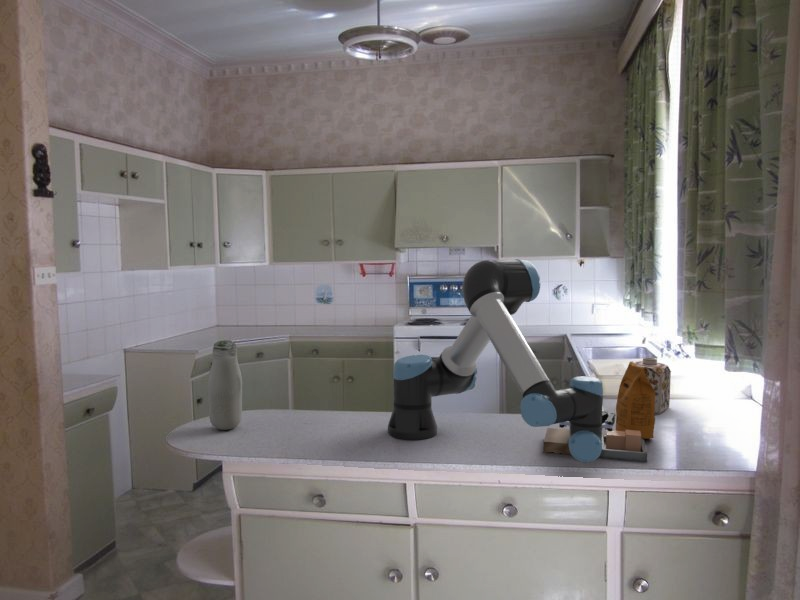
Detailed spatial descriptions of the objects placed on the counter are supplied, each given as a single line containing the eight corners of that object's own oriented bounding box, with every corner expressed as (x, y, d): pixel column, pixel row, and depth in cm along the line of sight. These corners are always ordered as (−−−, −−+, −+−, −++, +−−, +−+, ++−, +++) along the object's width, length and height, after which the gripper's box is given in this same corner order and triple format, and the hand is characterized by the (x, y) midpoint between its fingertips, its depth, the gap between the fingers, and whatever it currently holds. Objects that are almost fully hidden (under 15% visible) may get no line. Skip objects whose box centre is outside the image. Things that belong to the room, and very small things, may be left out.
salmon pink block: (606, 448, 179) (606, 434, 179) (606, 443, 184) (606, 429, 184) (625, 450, 178) (625, 436, 177) (624, 445, 183) (624, 431, 182)
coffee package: (643, 429, 200) (645, 360, 198) (657, 442, 187) (660, 368, 186) (611, 429, 200) (613, 360, 198) (623, 441, 188) (625, 367, 186)
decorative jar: (626, 409, 225) (627, 358, 224) (636, 402, 234) (638, 354, 233) (661, 414, 218) (663, 362, 216) (670, 407, 227) (672, 357, 226)
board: (543, 452, 178) (543, 441, 178) (547, 437, 192) (547, 427, 191) (596, 456, 174) (596, 446, 174) (595, 441, 187) (596, 431, 187)
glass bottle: (205, 433, 195) (203, 343, 193) (216, 424, 206) (213, 338, 203) (237, 433, 195) (235, 343, 193) (246, 424, 205) (244, 338, 203)
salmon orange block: (625, 434, 176) (641, 435, 175) (625, 429, 181) (640, 430, 179) (625, 452, 176) (640, 453, 175) (624, 446, 181) (639, 448, 180)
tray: (599, 457, 174) (600, 449, 174) (599, 442, 187) (599, 434, 187) (647, 461, 170) (647, 453, 170) (643, 445, 184) (643, 438, 184)
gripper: (543, 441, 167) (549, 419, 189) (628, 448, 161) (623, 424, 183) (544, 413, 166) (549, 394, 188) (629, 419, 160) (624, 398, 182)
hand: (586, 409), depth 185 cm, fingers closed on ceramic mug, 8 cm apart
